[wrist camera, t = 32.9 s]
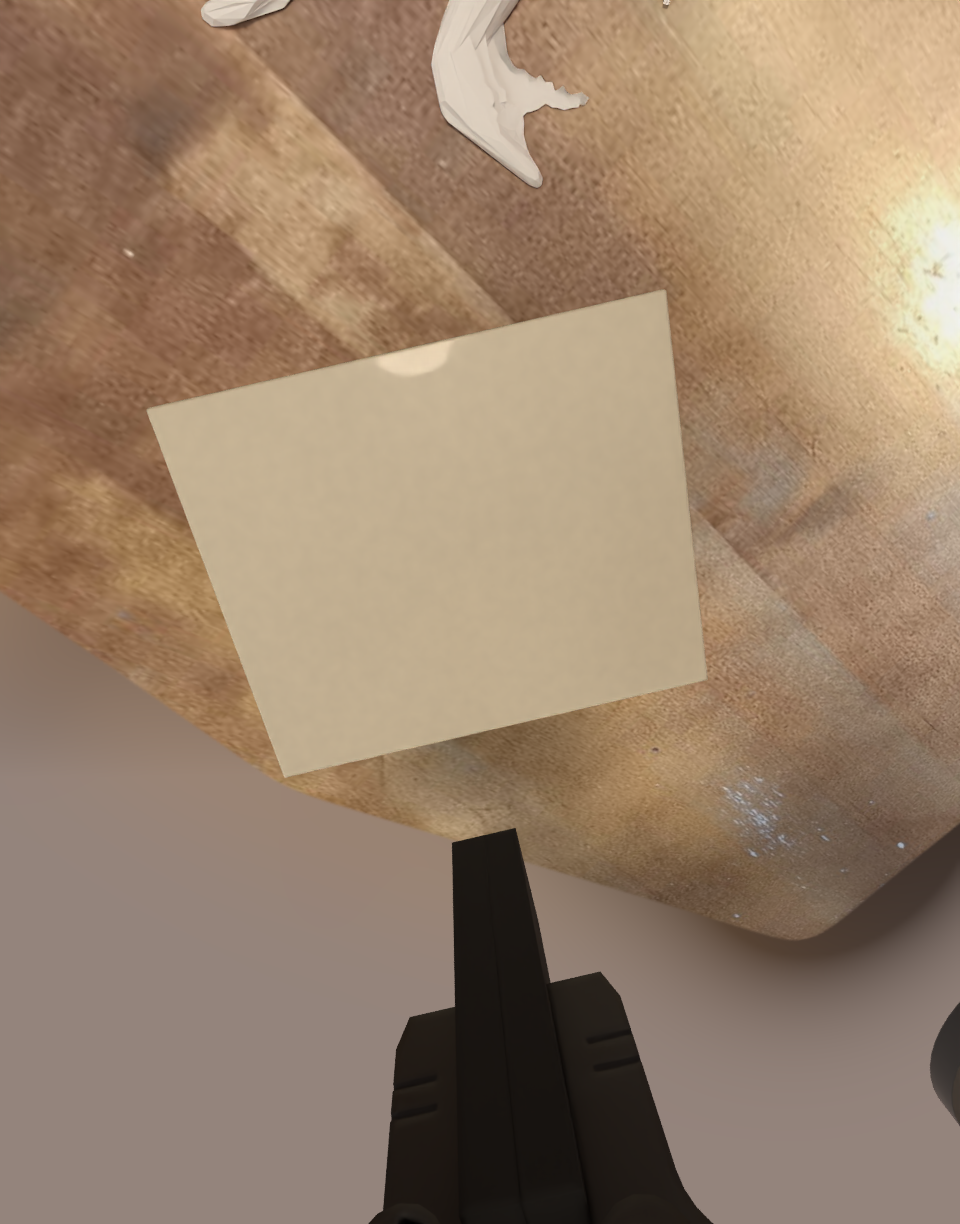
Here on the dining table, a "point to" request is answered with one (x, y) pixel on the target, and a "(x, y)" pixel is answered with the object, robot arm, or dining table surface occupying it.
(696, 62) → the dining table surface
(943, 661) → the dining table surface
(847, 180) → the dining table surface
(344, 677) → the lid
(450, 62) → the white tree stump
